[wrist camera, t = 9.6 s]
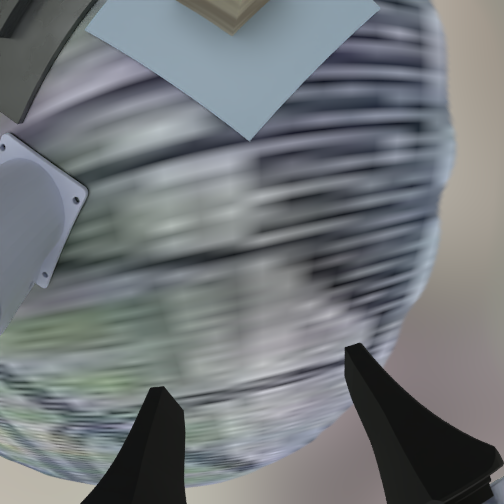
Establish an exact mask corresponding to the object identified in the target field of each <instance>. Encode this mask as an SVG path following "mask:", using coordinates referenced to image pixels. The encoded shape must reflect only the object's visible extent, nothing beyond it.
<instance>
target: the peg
mask: <svg viewBox="0 0 504 504" xmlns="http://www.w3.org/2000/svg"><path fill="white" fill-rule="evenodd" d="M176 1H178V2H179V3H181V4H183V5H184V6H186V7H188V8H189V9H191V10H193V11H194V12H196V13H198V14H199V15H201V16H202V17H204V18H205V19H207V20H208V21H210V22H212V23H213V24H215V25H216V26H218V27H219V28H220V29H222V30H223V31H225V32H226V33H228V34H229V35H231V36H233V35H234V34H235V33H236V32H237V31H238V30H239V29H240V28H241V27H242V26H243V25H244V24H245V23H246V22H247V21H248V20H249V19H250V18H251V17H252V16H253V15H254V14H255V13H256V12H257V11H259V10H260V9H261V8H262V7H263V6H264V5H265V4H266V3H267V2H268V1H270V0H176Z"/></svg>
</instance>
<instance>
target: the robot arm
mask: <svg viewBox="0 0 504 504" xmlns="http://www.w3.org/2000/svg"><path fill="white" fill-rule="evenodd" d="M4 145H5V149H4ZM87 196H88V190H87V188H86V187H85V186H83V185H82V184H81V183H79V182H78V181H76V180H75V179H73V178H72V177H70V176H69V175H68V174H66V173H65V172H63V171H62V170H60V169H59V168H58V167H56V166H55V165H53V164H52V163H51V162H49V161H48V160H46V159H45V158H44V157H42V156H41V155H39V154H38V153H37V152H35V151H34V150H32V149H31V148H30V147H28V146H27V145H26V144H24V143H23V142H22V141H20V140H19V139H17V138H16V137H15V136H13V135H12V134H11V133H5V134H4V135H2V137H1V140H0V335H1V334H2V333H3V332H4V331H5V329H6V328H7V326H8V325H9V323H10V321H11V320H12V318H13V316H14V315H15V313H16V312H17V310H18V308H19V307H20V305H21V304H22V302H23V301H24V299H25V298H26V296H27V295H28V293H29V292H30V290H31V289H32V287H33V286H34V284H35V283H36V284H38V285H39V286H40V287H42V288H46V287H47V286H48V285H49V282H50V280H51V277H52V274H53V272H54V269H55V267H56V264H57V262H58V259H59V257H60V254H61V252H62V249H63V247H64V245H65V242H66V240H67V238H68V236H69V233H70V231H71V229H72V227H73V225H74V223H75V220H76V218H77V216H78V214H79V212H80V210H81V208H82V206H83V204H84V202H85V200H86V198H87ZM75 197H78V198H79V201H80V202H77V201H76V200H75ZM45 272H46V273H47V274H48V275H47V274H46V273H45ZM345 379H346V383H347V386H348V389H349V392H350V395H351V399H352V401H353V403H354V405H355V408H356V410H357V412H358V415H359V417H360V419H361V421H362V423H363V426H364V428H365V430H366V433H367V435H368V437H369V440H370V442H371V445H372V448H373V451H374V454H375V457H376V461H377V464H378V468H379V471H380V476H381V479H382V483H383V488H384V492H385V496H386V501H387V504H504V476H503V477H502V478H500V479H498V480H496V481H494V482H493V483H491V484H489V482H491V478H490V475H491V474H492V473H494V472H495V471H497V470H498V469H499V468H500V467H502V466H503V464H504V462H503V460H502V458H501V456H500V454H499V452H498V451H497V449H496V448H495V447H494V446H492V445H490V444H487V443H485V442H482V441H480V440H478V439H476V438H473V437H471V436H470V435H468V434H466V433H464V432H462V431H460V430H459V429H457V428H455V427H453V426H451V425H450V424H449V423H447V422H445V421H443V420H442V419H441V418H439V417H438V416H436V415H435V414H433V413H432V412H431V411H429V410H428V409H427V408H425V407H424V406H423V405H421V404H420V403H419V402H418V401H417V400H415V399H414V398H413V397H412V396H411V395H409V393H407V392H406V391H405V390H404V389H403V388H402V387H401V386H400V385H399V384H398V383H397V382H396V381H395V380H394V379H393V378H392V377H390V375H389V374H388V373H387V372H386V371H385V370H384V369H383V368H382V367H381V366H380V365H379V364H378V362H377V361H376V360H375V359H374V358H373V357H372V356H371V354H370V353H369V352H368V351H367V350H366V348H365V347H364V346H363V344H361V343H357V344H354V345H351V346H348V347H345ZM184 459H185V421H184V410H183V409H182V408H181V407H180V405H179V404H178V403H177V402H176V401H175V399H174V398H173V397H172V396H171V395H170V393H169V392H168V391H167V390H166V388H165V387H164V386H161V387H152V388H150V389H149V392H148V394H147V396H146V398H145V400H144V403H143V405H142V407H141V409H140V411H139V414H138V416H137V418H136V420H135V422H134V424H133V426H132V428H131V430H130V433H129V435H128V437H127V439H126V440H125V442H124V444H123V446H122V448H121V450H120V452H119V453H118V455H117V457H116V458H115V460H114V462H113V463H112V465H111V466H110V468H109V469H108V471H107V472H106V474H105V475H104V476H103V478H102V479H101V480H100V482H99V483H98V484H97V486H96V487H95V488H94V489H93V490H92V492H91V493H90V494H89V495H88V496H87V497H86V498H85V499H84V500H83V501H82V502H81V503H80V504H187V503H186V496H185V487H184Z"/></svg>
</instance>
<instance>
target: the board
mask: <svg viewBox="0 0 504 504" xmlns="http://www.w3.org/2000/svg"><path fill="white" fill-rule="evenodd" d="M380 9H381V8H380V7H379V6H378V5H377V4H376V3H375V2H374V1H373V0H270V1H268V2H267V3H266V4H265V5H264V6H263V7H262V8H261V9H260V10H259V11H257V12H256V13H255V14H254V15H253V16H252V17H251V18H250V19H249V20H248V21H247V22H246V23H245V24H244V25H243V26H242V27H241V28H240V29H239V30H238V31H237V32H236V33H235V34H234V35H233V36H231V35H229V34H228V33H226V32H225V31H223V30H222V29H220V28H219V27H218V26H216V25H215V24H213V23H212V22H210V21H208V20H207V19H205V18H204V17H202V16H201V15H199V14H198V13H196V12H194V11H193V10H191V9H189V8H188V7H186V6H184V5H183V4H181V3H179V2H178V1H176V0H108V1H107V2H106V3H105V4H104V6H103V7H102V8H101V9H100V10H99V12H98V13H97V14H96V16H95V17H94V18H93V19H92V21H91V22H90V23H89V25H88V26H87V27H86V29H85V31H87V32H89V33H91V34H92V35H94V36H96V37H98V38H99V39H101V40H103V41H105V42H106V43H108V44H110V45H111V46H113V47H115V48H116V49H118V50H120V51H121V52H123V53H125V54H126V55H128V56H129V57H131V58H133V59H134V60H136V61H137V62H139V63H141V64H142V65H144V66H145V67H147V68H148V69H150V70H151V71H153V72H155V73H156V74H158V75H159V76H161V77H162V78H164V79H165V80H167V81H168V82H170V83H171V84H172V85H174V86H175V87H177V88H178V89H180V90H181V91H183V92H184V93H185V94H187V95H188V96H190V97H191V98H193V99H194V100H195V101H197V102H198V103H200V104H201V105H202V106H204V107H205V108H206V109H208V110H209V111H210V112H212V113H213V114H215V115H216V116H217V117H219V118H220V119H221V120H223V121H224V122H225V123H226V124H228V125H229V126H230V127H232V128H233V129H234V130H236V131H237V132H238V133H239V134H241V135H242V136H243V137H245V138H246V139H247V140H248V141H250V140H251V139H252V138H253V137H254V135H255V134H256V133H257V132H258V131H259V130H260V129H261V128H262V126H263V125H264V124H265V123H266V122H267V121H268V120H269V119H270V118H271V116H272V115H273V114H274V113H275V112H276V111H277V110H278V109H279V108H280V107H281V105H282V104H283V103H284V102H285V101H286V100H287V99H288V98H289V97H290V96H291V95H292V94H293V93H294V92H295V91H296V89H297V88H298V87H299V86H300V85H301V84H302V83H303V82H304V81H305V80H306V79H307V78H308V77H309V76H310V75H311V74H312V73H313V72H314V71H315V70H316V69H317V68H318V67H319V66H320V65H321V64H322V63H323V62H324V61H325V60H326V59H327V58H328V57H329V56H330V55H331V54H332V53H333V52H334V51H335V50H336V49H337V48H338V47H339V46H340V45H341V44H342V43H343V42H344V41H345V40H347V39H348V38H349V37H350V36H351V35H352V34H353V33H354V32H355V31H356V30H357V29H358V28H359V27H361V26H362V25H363V24H364V23H365V22H366V21H367V20H368V19H369V18H370V17H372V16H373V15H374V14H375V13H376V12H377V11H378V10H380Z"/></svg>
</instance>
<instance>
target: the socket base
mask: <svg viewBox="0 0 504 504" xmlns="http://www.w3.org/2000/svg"><path fill="white" fill-rule="evenodd" d="M96 1H97V0H0V112H1V113H3V114H4V115H6V116H7V117H8V118H10V119H11V120H12V121H14V122H15V123H17V124H20V123H23V121H24V118H25V116H26V114H27V112H28V110H29V107H30V105H31V103H32V101H33V99H34V97H35V95H36V93H37V91H38V89H39V87H40V85H41V84H42V82H43V80H44V78H45V76H46V74H47V73H48V71H49V69H50V67H51V66H52V64H53V62H54V61H55V59H56V57H57V56H58V54H59V53H60V51H61V49H62V48H63V46H64V45H65V43H66V42H67V40H68V39H69V37H70V36H71V34H72V33H73V31H74V30H75V29H76V27H77V26H78V24H79V23H80V22H81V20H82V19H83V18H84V16H85V15H86V14H87V12H88V11H89V10H90V9H91V7H92V6H93V5H94V4H95V2H96Z"/></svg>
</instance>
